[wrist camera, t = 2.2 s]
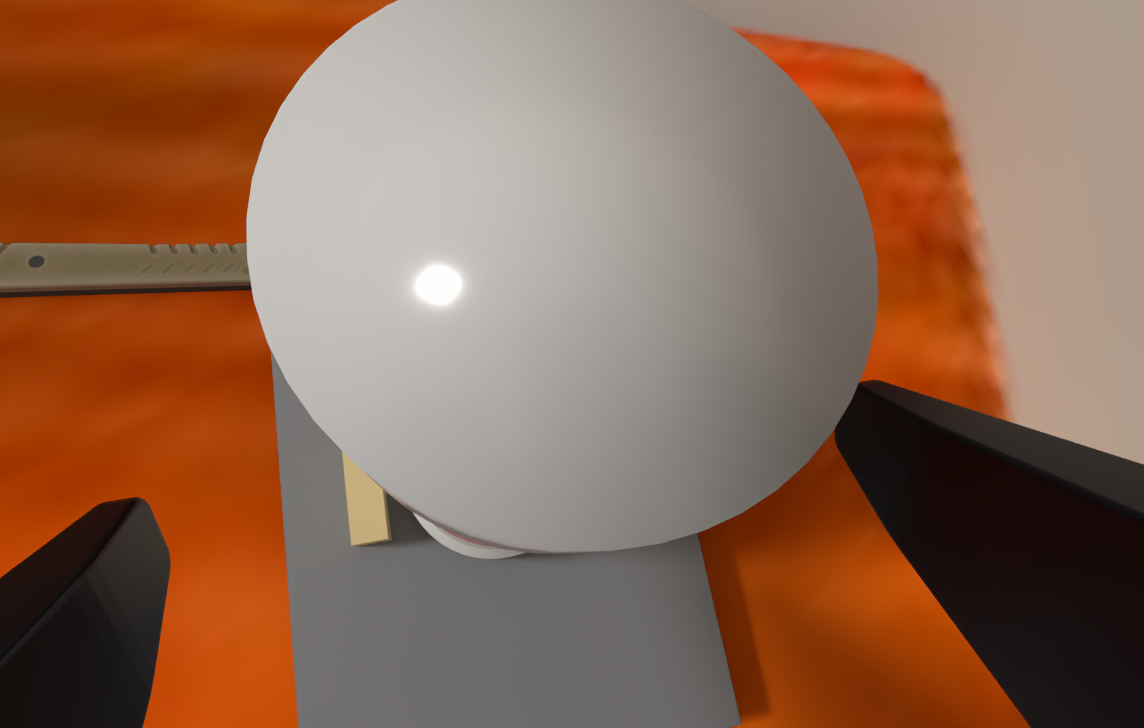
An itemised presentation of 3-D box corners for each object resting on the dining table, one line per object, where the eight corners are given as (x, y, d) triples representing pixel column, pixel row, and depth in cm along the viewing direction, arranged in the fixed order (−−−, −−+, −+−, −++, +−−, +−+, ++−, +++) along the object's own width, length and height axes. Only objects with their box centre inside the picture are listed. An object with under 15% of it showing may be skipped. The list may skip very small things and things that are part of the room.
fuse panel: (725, 715, 17) (759, 734, 15) (316, 824, 15) (295, 863, 13) (615, 227, 20) (631, 192, 19) (273, 258, 18) (251, 223, 16)
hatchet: (419, 157, 21) (418, 134, 20) (414, 347, 19) (413, 331, 18) (-402, 104, 17) (-455, 71, 16) (-541, 336, 15) (-614, 314, 14)
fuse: (606, 481, 17) (987, 275, 5) (480, 596, 16) (558, 721, 3) (502, 361, 18) (603, -110, 5) (371, 463, 16) (99, 156, 4)
